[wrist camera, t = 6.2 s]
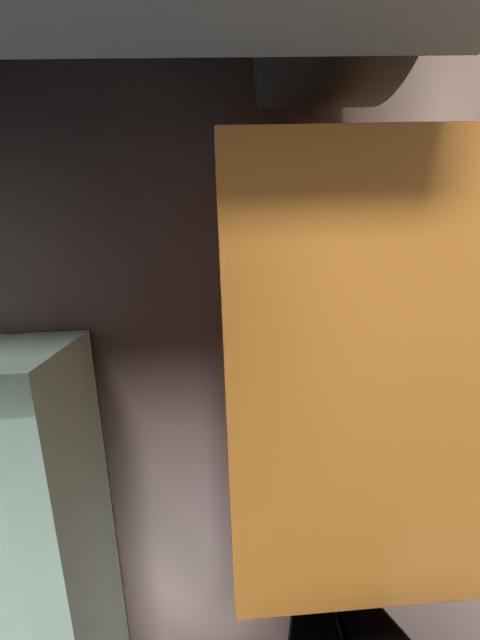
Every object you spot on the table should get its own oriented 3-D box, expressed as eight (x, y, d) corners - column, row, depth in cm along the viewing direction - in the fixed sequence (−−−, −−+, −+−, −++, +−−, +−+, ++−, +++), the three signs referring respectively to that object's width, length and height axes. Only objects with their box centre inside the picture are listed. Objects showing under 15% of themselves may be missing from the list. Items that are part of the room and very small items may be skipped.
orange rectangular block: (385, 464, 9) (484, 598, 6) (228, 475, 9) (235, 620, 6) (404, 172, 8) (555, 119, 4) (215, 177, 7) (213, 124, 4)
